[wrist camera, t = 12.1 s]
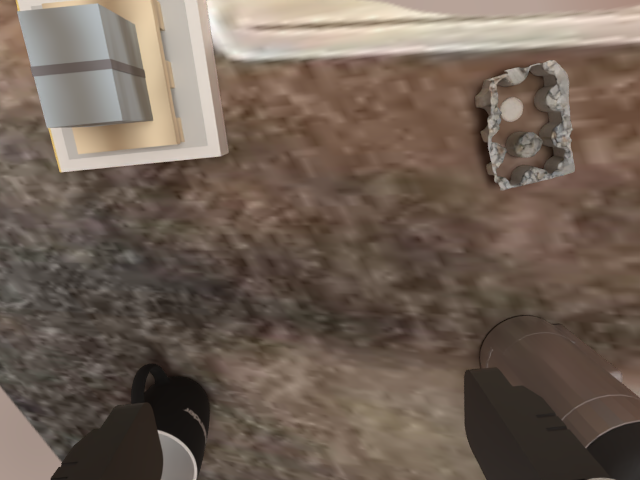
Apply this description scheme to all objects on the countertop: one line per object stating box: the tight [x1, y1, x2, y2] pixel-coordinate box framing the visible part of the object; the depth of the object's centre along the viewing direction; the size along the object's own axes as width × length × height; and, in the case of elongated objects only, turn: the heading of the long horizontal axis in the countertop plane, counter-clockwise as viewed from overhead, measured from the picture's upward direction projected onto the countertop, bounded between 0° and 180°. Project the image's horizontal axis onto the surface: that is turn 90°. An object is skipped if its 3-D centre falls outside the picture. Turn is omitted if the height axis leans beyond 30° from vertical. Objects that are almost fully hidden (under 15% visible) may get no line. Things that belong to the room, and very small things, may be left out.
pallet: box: [17, 0, 185, 154], centre depth 31 cm, size 8×11×8 cm
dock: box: [16, 0, 229, 172], centre depth 38 cm, size 14×14×4 cm
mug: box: [131, 364, 210, 480], centre depth 43 cm, size 12×9×10 cm
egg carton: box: [475, 60, 575, 190], centre depth 40 cm, size 11×8×4 cm
